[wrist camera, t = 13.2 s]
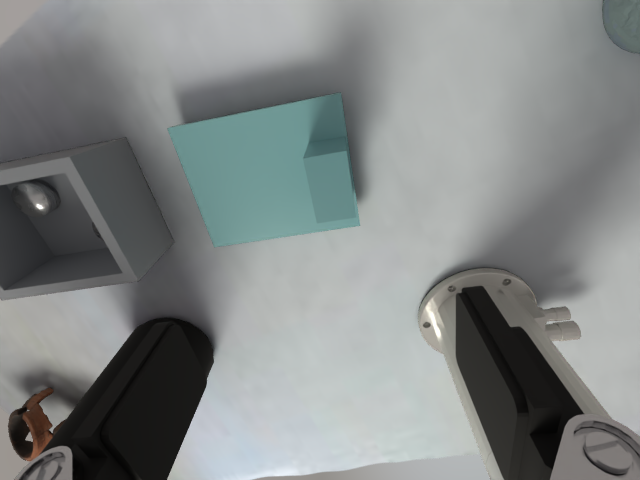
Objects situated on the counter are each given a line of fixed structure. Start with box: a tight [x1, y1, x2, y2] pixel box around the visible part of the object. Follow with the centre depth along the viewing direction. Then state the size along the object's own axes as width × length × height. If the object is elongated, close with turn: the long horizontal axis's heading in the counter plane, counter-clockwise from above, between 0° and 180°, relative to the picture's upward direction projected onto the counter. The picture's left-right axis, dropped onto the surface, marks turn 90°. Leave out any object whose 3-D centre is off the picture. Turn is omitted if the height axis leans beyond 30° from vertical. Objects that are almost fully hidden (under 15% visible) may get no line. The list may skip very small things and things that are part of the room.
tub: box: [0, 138, 174, 300], centre depth 29 cm, size 14×11×7 cm
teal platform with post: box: [167, 92, 360, 247], centre depth 27 cm, size 14×11×8 cm
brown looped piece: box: [8, 388, 65, 461], centre depth 47 cm, size 12×10×8 cm
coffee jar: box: [39, 318, 214, 455], centre depth 34 cm, size 11×11×18 cm
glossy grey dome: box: [11, 179, 61, 217], centre depth 30 cm, size 3×3×2 cm
